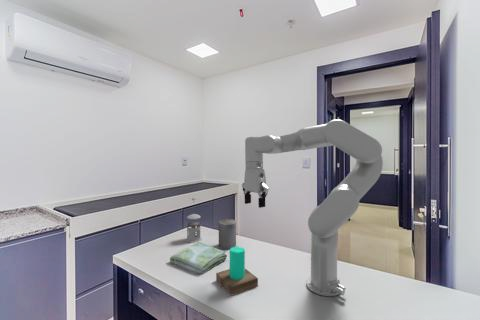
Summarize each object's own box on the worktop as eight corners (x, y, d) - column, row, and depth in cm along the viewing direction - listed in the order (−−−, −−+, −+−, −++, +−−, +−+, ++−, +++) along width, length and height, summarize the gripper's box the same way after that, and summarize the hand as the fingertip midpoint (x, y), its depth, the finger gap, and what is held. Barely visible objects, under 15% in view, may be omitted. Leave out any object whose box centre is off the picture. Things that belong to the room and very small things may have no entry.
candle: (239, 281, 90) (239, 249, 89) (226, 276, 93) (226, 246, 93) (247, 274, 95) (247, 244, 94) (235, 270, 98) (235, 241, 98)
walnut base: (257, 285, 92) (257, 278, 92) (230, 295, 86) (230, 287, 86) (241, 272, 102) (241, 265, 102) (216, 280, 96) (216, 273, 96)
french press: (182, 242, 137) (182, 199, 136) (190, 235, 148) (190, 195, 147) (199, 243, 135) (198, 199, 134) (205, 236, 146) (205, 196, 146)
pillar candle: (221, 241, 137) (221, 216, 137) (237, 243, 136) (237, 217, 135) (216, 248, 128) (216, 221, 127) (234, 250, 126) (233, 222, 125)
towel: (202, 276, 100) (202, 264, 99) (169, 263, 112) (169, 252, 112) (228, 260, 115) (228, 250, 114) (196, 250, 127) (196, 240, 126)
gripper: (274, 165, 97) (274, 207, 98) (249, 164, 111) (249, 201, 112) (260, 166, 93) (260, 210, 93) (235, 165, 107) (236, 203, 107)
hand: (254, 205), depth 102 cm, fingers open, 9 cm apart
